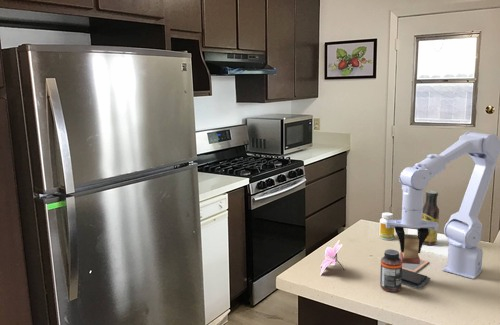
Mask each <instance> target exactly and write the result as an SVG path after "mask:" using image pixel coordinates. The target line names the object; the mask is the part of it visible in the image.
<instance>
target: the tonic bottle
mask: <svg viewBox="0 0 500 325" xmlns="http://www.w3.org/2000/svg"><path fill="white" fill-rule="evenodd" d="M438 196H439V192H438V191H436V190H431V189H430V190H426V191H425V202H424V203H423V212H422V221H428V222H437V223H438V224H439V221H440V220H439V219H440V217H439V216H440V209H439V207H438V204H437V203H438V202H437V201H438ZM428 231H429V235H428V236H427V238H426V239H425V241H424V243H423V245H426V246H433V245H436V244H437V240H438V231H439V230H438V231H436V230H430V229H428Z"/></svg>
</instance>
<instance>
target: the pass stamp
mask: <svg viewBox="0 0 500 325" xmlns="http://www.w3.org/2000/svg"><path fill="white" fill-rule="evenodd" d="M418 252H419V238H418V234H408V233H405V235H404V252H401V251H400V252H399V253H400V258H401V260H402V263H407V264H420V259H421V258H420V256H419V253H418Z"/></svg>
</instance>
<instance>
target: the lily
mask: <svg viewBox="0 0 500 325" xmlns="http://www.w3.org/2000/svg"><path fill="white" fill-rule="evenodd" d="M339 243H340V240H338V241H337V242H336V243H335V245H334V246H333V247H331V246H328V247H326V249H325V251H324V258H325V259H323V262H322V263H321V264H320V268H321V269H320V276H321V275H322V274H323V273H324V271H325V270H326V268H327V267H328V266H329V265H330V266H335V265H336V262H337V263H338V264H339V265H340V267H341V268H342V269H343V271H345V268H344V266H343V265H342V264H341V262H340V261H339V260H338V252H339V250H340V249H341V248H342V247H343V244H339Z"/></svg>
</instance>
